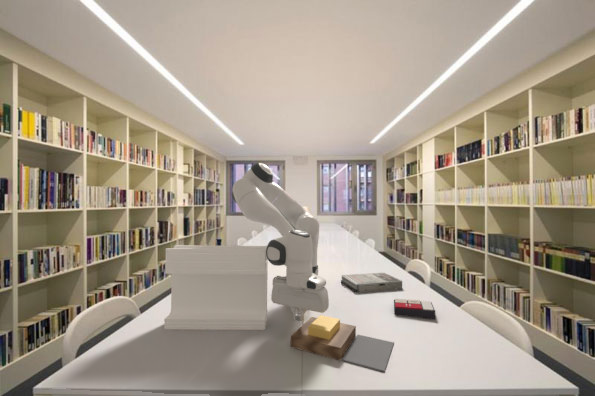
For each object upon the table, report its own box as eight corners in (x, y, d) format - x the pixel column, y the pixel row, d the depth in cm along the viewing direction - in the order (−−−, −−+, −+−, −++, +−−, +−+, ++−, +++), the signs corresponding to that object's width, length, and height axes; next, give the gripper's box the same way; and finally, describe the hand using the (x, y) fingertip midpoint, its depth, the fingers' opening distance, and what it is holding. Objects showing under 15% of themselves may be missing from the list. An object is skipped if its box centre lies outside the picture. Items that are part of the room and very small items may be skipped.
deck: (290, 346, 87) (290, 335, 87) (311, 326, 101) (311, 316, 101) (340, 360, 80) (340, 347, 80) (355, 336, 94) (355, 326, 94)
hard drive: (340, 283, 158) (340, 275, 158) (383, 280, 165) (383, 272, 165) (356, 293, 140) (356, 284, 140) (403, 289, 147) (403, 281, 147)
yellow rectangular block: (308, 334, 88) (308, 326, 88) (320, 322, 97) (320, 315, 97) (329, 339, 85) (329, 331, 85) (339, 326, 93) (340, 319, 94)
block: (266, 320, 107) (267, 245, 107) (264, 329, 99) (265, 249, 99) (174, 319, 106) (175, 245, 107) (164, 329, 98) (165, 248, 99)
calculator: (393, 297, 124) (431, 299, 119) (394, 307, 123) (431, 310, 119) (394, 306, 113) (435, 309, 108) (394, 317, 113) (435, 320, 108)
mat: (342, 360, 80) (342, 359, 80) (357, 335, 95) (357, 334, 95) (384, 372, 74) (384, 370, 74) (393, 343, 90) (393, 342, 90)
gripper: (268, 277, 97) (267, 317, 97) (323, 285, 88) (323, 330, 87) (277, 273, 102) (277, 311, 102) (330, 280, 93) (330, 322, 93)
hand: (298, 320), depth 95 cm, fingers closed
